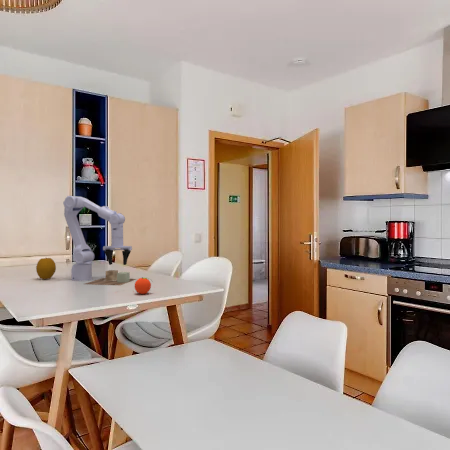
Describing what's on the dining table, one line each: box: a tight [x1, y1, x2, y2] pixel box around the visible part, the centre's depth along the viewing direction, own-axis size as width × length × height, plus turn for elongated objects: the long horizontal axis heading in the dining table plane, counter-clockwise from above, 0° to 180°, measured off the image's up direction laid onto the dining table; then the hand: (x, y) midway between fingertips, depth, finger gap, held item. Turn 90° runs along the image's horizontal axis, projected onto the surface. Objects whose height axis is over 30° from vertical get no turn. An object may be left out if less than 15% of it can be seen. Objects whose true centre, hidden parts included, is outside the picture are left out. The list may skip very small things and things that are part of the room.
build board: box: [84, 277, 137, 286], centre depth 202 cm, size 19×20×1 cm
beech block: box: [105, 269, 119, 280], centre depth 207 cm, size 4×4×4 cm
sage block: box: [117, 271, 131, 284], centre depth 201 cm, size 4×4×4 cm
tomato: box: [134, 277, 154, 295], centre depth 175 cm, size 8×7×7 cm
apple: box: [35, 256, 57, 280], centre depth 216 cm, size 10×10×12 cm
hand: (117, 264), depth 204 cm, fingers open, 7 cm apart
